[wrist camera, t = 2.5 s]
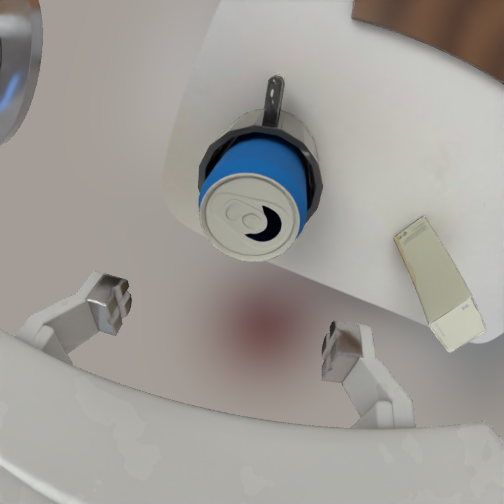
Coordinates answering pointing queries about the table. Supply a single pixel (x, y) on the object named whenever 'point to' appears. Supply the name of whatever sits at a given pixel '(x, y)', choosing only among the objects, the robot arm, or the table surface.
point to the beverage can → (255, 198)
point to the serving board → (445, 27)
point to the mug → (274, 124)
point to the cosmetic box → (439, 286)
